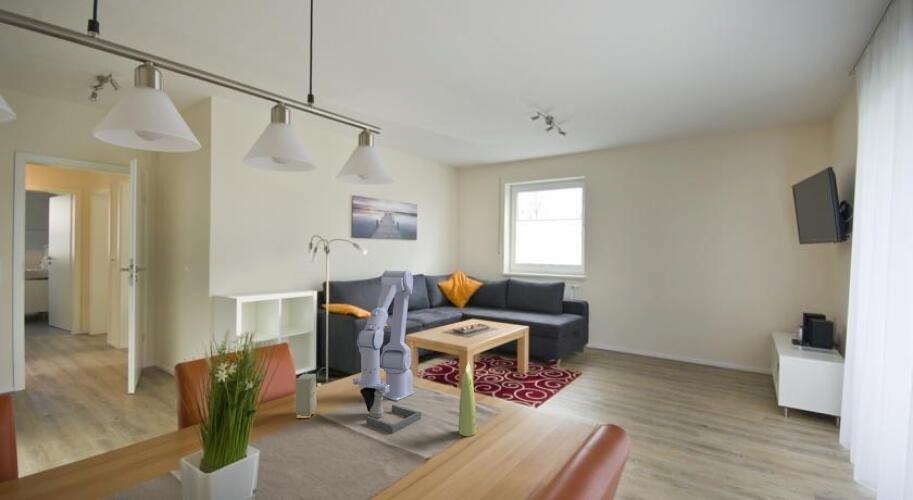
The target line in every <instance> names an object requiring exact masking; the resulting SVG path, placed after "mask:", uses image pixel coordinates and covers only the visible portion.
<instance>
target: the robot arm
mask: <svg viewBox="0 0 913 500" xmlns="http://www.w3.org/2000/svg"><path fill="white" fill-rule="evenodd" d="M380 282H381V288H382V289H381V292H380V295H379V298H378V302H377V306H376V308H374V309H372V310H371V312H370V314H369V316H368V319H367V322H366V324H365V326H364V329H363V330H361V331H360V332H358V335H357V339H356V344H357V347H358V349H359V350H358V352H359V353H360V357H361V359H360V364H361V366H360V367H361V369H360V370H361V375H360V376H361V377H360V376H357V377H354V378H353V379H352V384H353V385H355V386H356V385H359V387H360V388H361V389H359V393H360V394H361V396H362V398H363V400H364V402H365V406H366V409H367V410H366V411H367V412H368V413H369V412H370V409H371V407H372V406H373V404H374V400H375V399H374V397H375V394H374V392H375V391H376V389H377V390H379V391H383V393H385V395H384V396H383V398H385V397H386V398H385V399H388V398H389V399H388V400H392V401H397V402H398V401H400V400H402V399H404V398H407V397H409V396H411V395H414V394H415V393H416V391H414V375H413V372H412V370H411V369H410V368H411V366H412V365H411V364H412V360H413V359H412V349H411V348H410V347H409V345H407V344H406V343H405V339H406V328H407V327H406V326H407V321H408V320H407V319H408V308H409V298H410V295H412V294H413V288H414V285H413V284H414V276H413V274H412V272H411V271H410V270H387V269H386V270H384V272H383V273H382V275H381V279H380ZM393 299H394V301H393ZM392 302H393V309H392V319H391V327H390V328H391V329H390V337H389V338H390V339H389V342H388V343H386V345H384V346H383V348H382V353H381V354H380V348H381V347H382V345H383V343H384V335H385V332H384V331H385V326H386V325H387V324H386V323H387V321H388V318H389V315H388V312H387V311H388V310H389V307H390V305H391V304H392ZM380 367H381V368H382V369H383V371H384V372H385V382H384V381H382V380H381V368H380Z"/></svg>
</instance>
